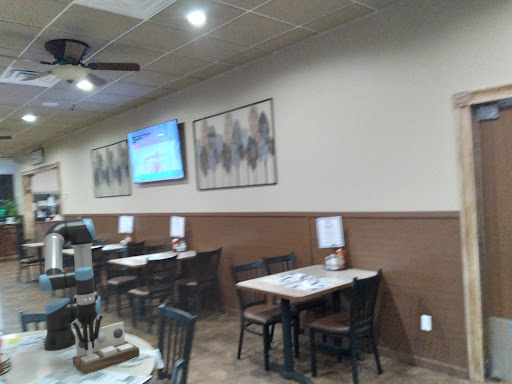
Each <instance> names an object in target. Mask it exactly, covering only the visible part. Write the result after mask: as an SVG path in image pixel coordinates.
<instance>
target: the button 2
mask: <svg viewBox="0 0 512 384" xmlns="http://www.w3.org/2000/svg"><path fill="white" fill-rule="evenodd" d="M129 343H130V342H129ZM129 343H128V344H125V345H122V346H118V347H116V348H117V350H118V351H119V352H124V351H127V350H130V349H133V348H134V346H135V345H134V344H133V345H134V346H133V345H131V344H132V343H131V344H129Z"/></svg>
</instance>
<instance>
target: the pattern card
mask: <svg viewBox="0 0 512 384" xmlns="http://www.w3.org/2000/svg"><path fill="white" fill-rule="evenodd" d="M124 326H125V325H124V321H121V322H116V323H112V324H108V325H106V326H102V327H101V326H100V329H99V335H98V338H97V339H95V341H94V348H93V349H92V353H93V352H97V351H99V350H100V349H103V348H106V347H109V346H117V345H120V344H123V343H125V341H126V339H125V327H124ZM94 330H95V328H93V331H94ZM87 332H88V341H90V339H89V330H87ZM74 334H75V339H76V343H75V349H76V351H75V352H76V356H77V357H80V356H84V355H87V350H85V349H84V343H81V342H80V341H79V339H78V336H77V333H74ZM81 334H82V337H83V331H81Z"/></svg>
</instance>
